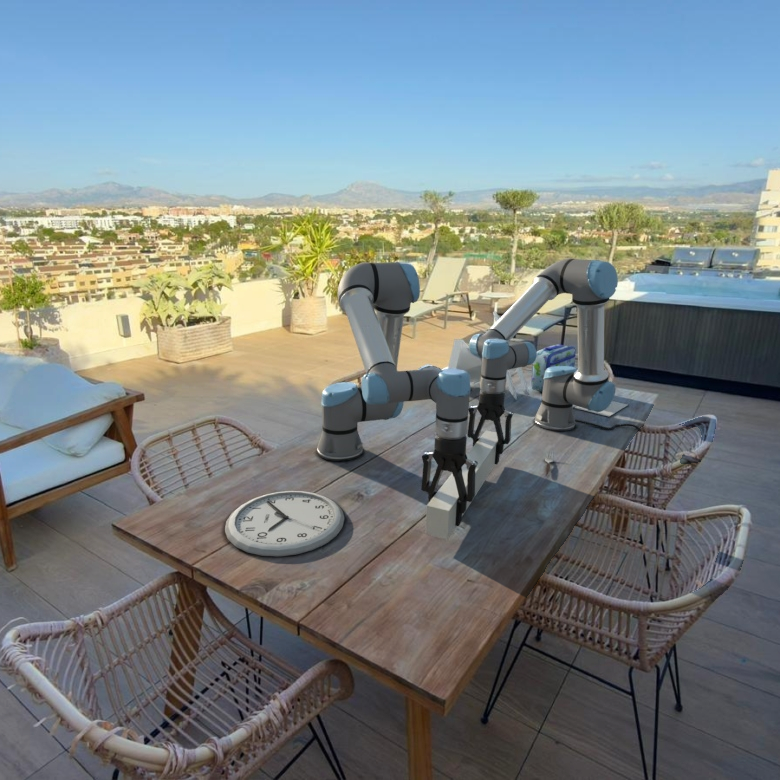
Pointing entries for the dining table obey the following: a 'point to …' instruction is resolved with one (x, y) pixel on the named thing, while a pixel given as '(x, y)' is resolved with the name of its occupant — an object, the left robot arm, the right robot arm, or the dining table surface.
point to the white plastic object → (479, 364)
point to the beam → (446, 498)
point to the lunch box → (550, 362)
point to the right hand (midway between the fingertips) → (486, 460)
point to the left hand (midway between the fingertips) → (446, 520)
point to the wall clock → (284, 523)
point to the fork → (548, 462)
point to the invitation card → (607, 409)
